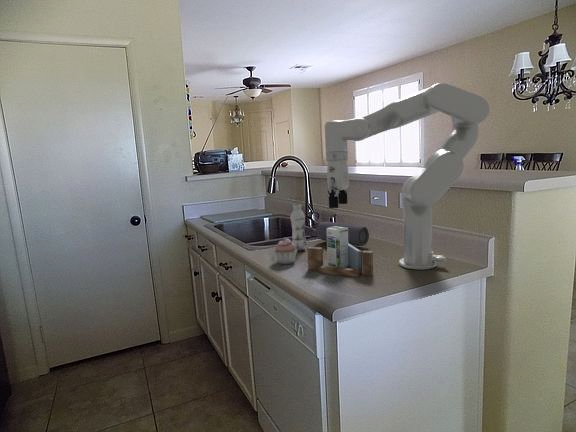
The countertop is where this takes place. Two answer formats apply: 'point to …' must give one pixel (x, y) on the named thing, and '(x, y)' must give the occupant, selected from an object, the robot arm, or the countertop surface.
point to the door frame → (317, 264)
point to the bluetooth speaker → (355, 232)
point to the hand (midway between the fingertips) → (338, 205)
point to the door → (355, 258)
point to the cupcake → (285, 251)
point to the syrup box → (337, 247)
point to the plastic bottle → (298, 227)
